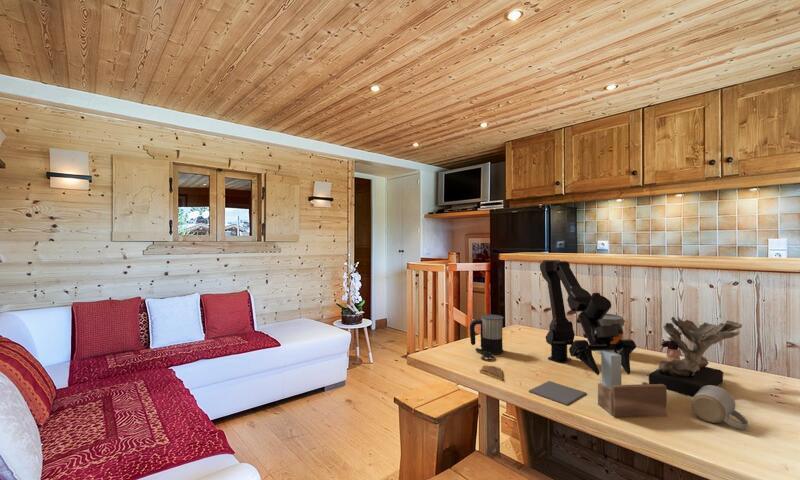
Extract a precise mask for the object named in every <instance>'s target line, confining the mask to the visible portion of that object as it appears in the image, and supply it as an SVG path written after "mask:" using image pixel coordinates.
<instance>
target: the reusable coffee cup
mask: <svg viewBox="0 0 800 480" xmlns="http://www.w3.org/2000/svg"><path fill="white" fill-rule="evenodd" d="M600 322H601V324H602V326H611V325H612V324H615V323H619V324H620V325H621V327H622V329H624V328H623V327H624V326H625V321H624V317H623V316H621V315H619V314H612V313H606V315H605V316H604V317H603V319H600ZM623 336H624V333H623V334H620V335H619V336H618V337H617V336H616V337H613V339H614V340H613V341H611V342H610V343H611V344H616V343H617V342H618V341H619V340H620V339H623V338H624V337H623ZM611 351H613V352H614V350H611ZM593 352H594V353H596V354H598V355H601V351H593Z"/></svg>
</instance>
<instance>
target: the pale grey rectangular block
mask: <svg viewBox="0 0 800 480" xmlns="http://www.w3.org/2000/svg"><path fill="white" fill-rule="evenodd" d="M600 355H601V356H600V357H601V359H600V360H601V362H600V365H601V366H600V367H601V372H600V374H601V377H600V381H601V382H600V383H601V384H603V385H604V386H606V387H607V388H611V385H622V365H621V355H619V354H617V353H615V352H613V351H611V350H601V354H600Z"/></svg>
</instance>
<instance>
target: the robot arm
mask: <svg viewBox="0 0 800 480" xmlns="http://www.w3.org/2000/svg"><path fill="white" fill-rule="evenodd" d="M539 269H540V272H541V276H542V278H543V279H544V280H545V281H546V283H547V288H548V295H549V303H550V311H551V316H552V318H551V319H552V320H551V322H550V323H549V325H548V326H549V331H548V333H547V334H546V335H545V341H546V343H547V344H548V345H550V346H551V353H550V354H551V355H550V356H548V357H547V360H550V361H555V362H558V363H562V364H565V363H566V362H569V361H571V360H572V358H571V357H575V359H577V360H579V361H581V362H582V363H583V364H585V365H586V366H587V367H588V368H589V369H590V371H592V372H593V373H595V374H596V375H597V376H600V374H601V372H600V370H599V367H598V365H597V362H596V360H595V359H594V356H593V352H594V351H601V350H614V352H615V353H617V354H619V355H621V368H622V369H623V371H624V372H625V373H626V374H627V375H630V374H631V364H630V355H631V353H632V352H634V350H635V349H636V348H637V347H638V346H637V344H636V342H635V340H633V339H632V338H631V339H629V338H627V339H626V338H624V339H623V338H622V339H620V340H619V341H618V342H617V343H616V344H611V343H610V342H611V341H613V340H614V339H613V337H616V336H617V337H618V336H619V335H620V334H623V335H624V330H623V329H624V328H623V329H622V327H621V325H620V324H619V323H615V324H612V325H611V326H602V324H601V322H600V319H603V317H604V316H605V315H606V314H608V312H609V311H610V310H611V308H612V302H611V300H610V299H608V298H607V297H605V295H602V294H600V292H593V293H592V294H590V292H589V291H588V290H586V289H584V288H583V287H582V286H581V284H580V283H579V280H578V279H577V277H576V276H575V273H574V272H573V270H572V269H571V265H570V262H569V261H566V260H560V259H546V260H545V259H544V260H542V262H541V263H540V264H539ZM562 285H563V288H564V289H565V291H566V292H567V299H566V301H567V303H568V304H567V305H568V307H569V308H570V310H571V311H572V312H576V313H577V312H579V314H578V316H577V318H576V323H577V324H580V326H581V328H582V330H583V333H584V334H583V338H584V339H575V337H576V336H575V335H576V334H575V330H574V325H573V322H572V321H569V319H568V318H567V316H566V315H567V314H566V308H565V301H564V296H563V291H562ZM586 339H587V340H586ZM568 346H569V348H568ZM568 351H569V354H570V357H568Z"/></svg>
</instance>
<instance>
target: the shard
mask: <svg viewBox="0 0 800 480" xmlns="http://www.w3.org/2000/svg"><path fill="white" fill-rule="evenodd" d="M479 373H480V374H483V375H486V376H489V377H490V378H493V379H495V380H497V381H503V378H504V377H503V372H502V368H501V367H499V366H495V365H486V364H485V365H481V369H479Z"/></svg>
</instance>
